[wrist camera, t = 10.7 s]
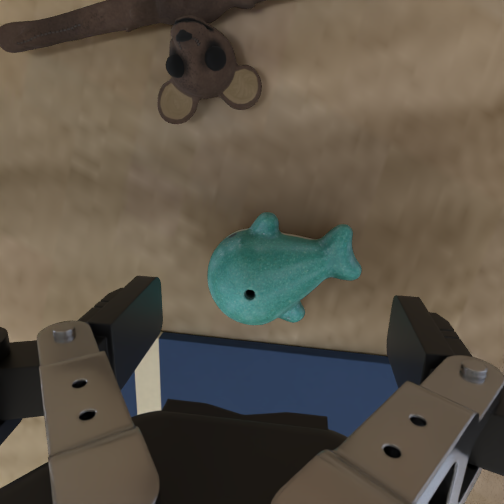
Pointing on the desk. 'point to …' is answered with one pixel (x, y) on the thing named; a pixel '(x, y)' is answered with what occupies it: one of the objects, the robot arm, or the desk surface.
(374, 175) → the desk surface
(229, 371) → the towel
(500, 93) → the desk surface
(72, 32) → the brown humanoid figurine
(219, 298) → the whale figurine
